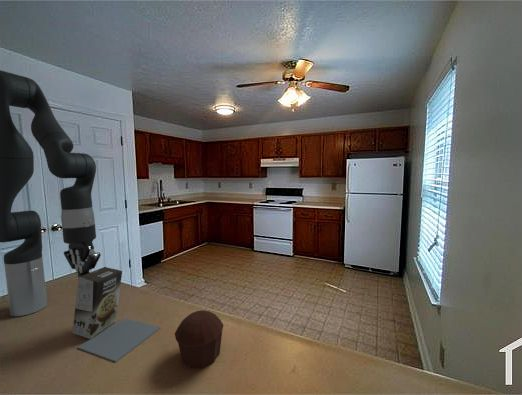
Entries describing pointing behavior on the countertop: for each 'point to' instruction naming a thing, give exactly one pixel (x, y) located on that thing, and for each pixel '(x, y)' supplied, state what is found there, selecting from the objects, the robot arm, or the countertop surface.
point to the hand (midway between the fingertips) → (84, 283)
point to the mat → (119, 339)
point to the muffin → (199, 339)
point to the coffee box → (96, 301)
